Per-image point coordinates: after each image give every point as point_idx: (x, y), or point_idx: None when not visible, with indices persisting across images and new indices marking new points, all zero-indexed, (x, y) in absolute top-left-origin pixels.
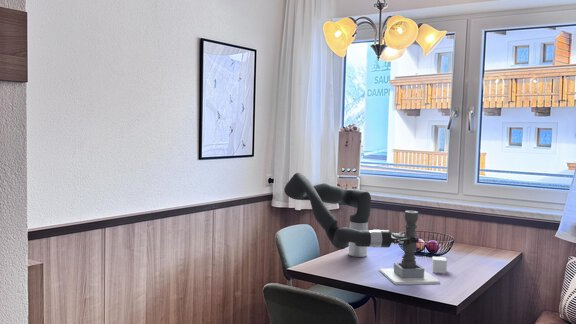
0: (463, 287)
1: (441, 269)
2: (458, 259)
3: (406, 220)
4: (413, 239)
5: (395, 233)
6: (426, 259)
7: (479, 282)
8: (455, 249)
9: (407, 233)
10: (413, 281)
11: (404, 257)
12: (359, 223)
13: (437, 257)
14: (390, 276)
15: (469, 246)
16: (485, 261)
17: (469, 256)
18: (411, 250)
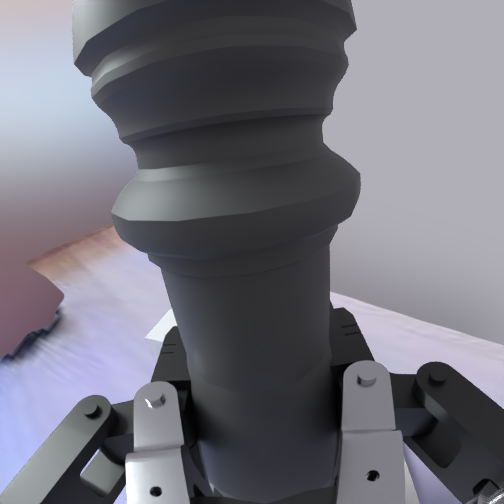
0: (399, 337)
1: None
2: (108, 290)
3: (257, 34)
4: (364, 347)
5: (34, 478)
6: (65, 350)
7: (330, 297)
8: (51, 276)
9: (298, 352)
10: (411, 499)
11: None
12: None
13: (165, 326)
14: None
15: (55, 258)
16: (147, 258)
17: (102, 270)
18: None
